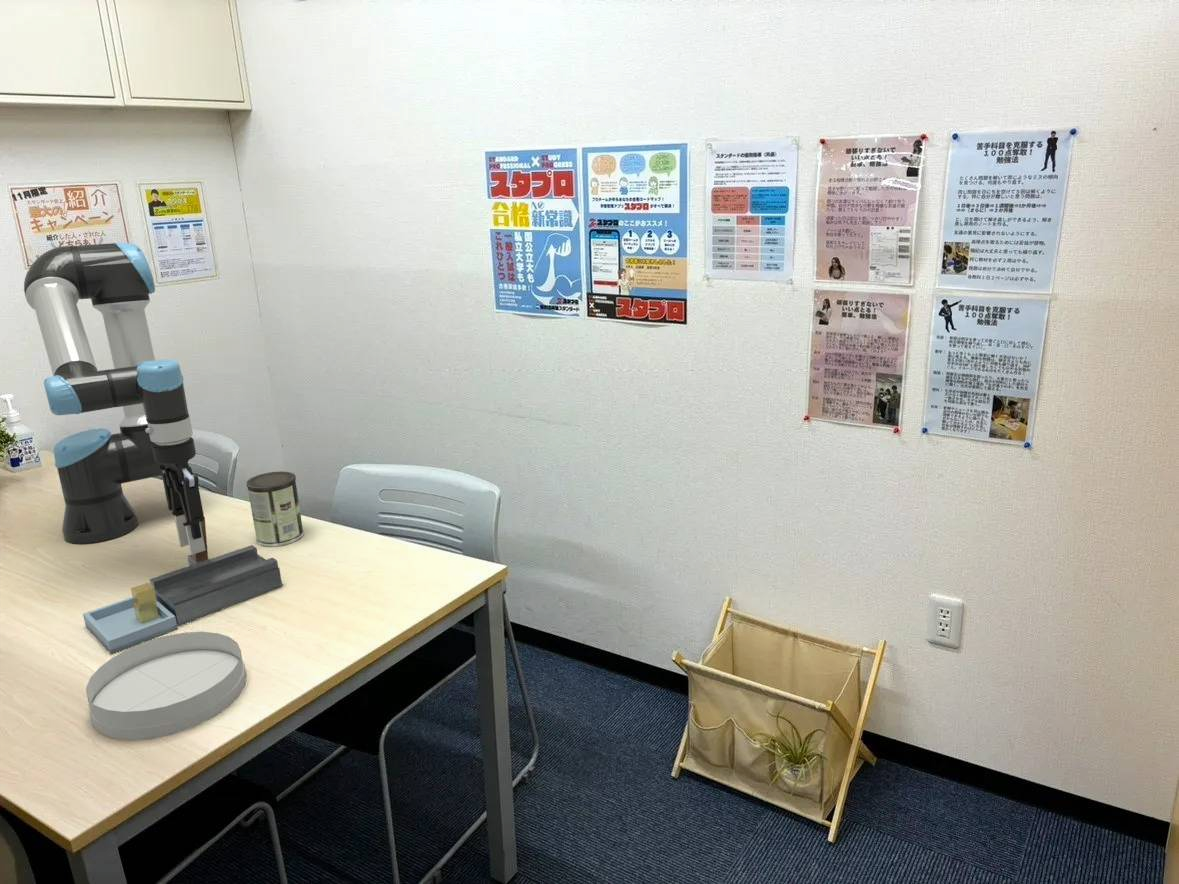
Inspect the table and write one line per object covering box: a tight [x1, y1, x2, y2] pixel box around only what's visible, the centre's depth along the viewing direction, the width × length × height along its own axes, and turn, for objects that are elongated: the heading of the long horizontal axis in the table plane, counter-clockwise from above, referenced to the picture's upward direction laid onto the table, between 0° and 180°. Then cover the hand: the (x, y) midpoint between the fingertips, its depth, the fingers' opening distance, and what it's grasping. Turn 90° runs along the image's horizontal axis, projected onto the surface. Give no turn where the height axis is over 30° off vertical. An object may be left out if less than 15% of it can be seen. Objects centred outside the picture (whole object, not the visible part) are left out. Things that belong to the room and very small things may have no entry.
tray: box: [82, 596, 178, 655], centre depth 148 cm, size 14×11×2 cm
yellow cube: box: [130, 582, 157, 608], centre depth 149 cm, size 3×3×3 cm
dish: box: [85, 631, 247, 741], centre depth 128 cm, size 22×22×5 cm
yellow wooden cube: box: [133, 603, 159, 624], centre depth 150 cm, size 3×3×3 cm
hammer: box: [187, 516, 210, 566], centre depth 168 cm, size 6×2×12 cm, turn 47°
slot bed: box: [149, 545, 283, 627], centre depth 159 cm, size 12×20×6 cm, turn 136°
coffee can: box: [245, 471, 305, 547], centre depth 183 cm, size 10×10×14 cm
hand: (192, 548), depth 167 cm, fingers open, 5 cm apart
